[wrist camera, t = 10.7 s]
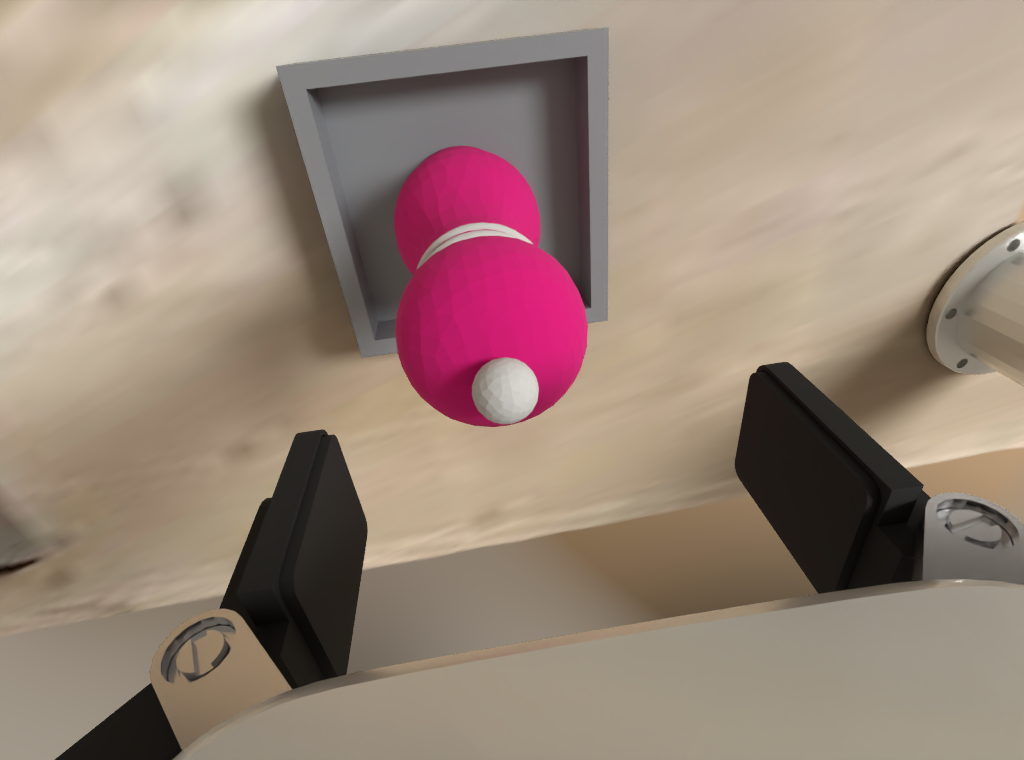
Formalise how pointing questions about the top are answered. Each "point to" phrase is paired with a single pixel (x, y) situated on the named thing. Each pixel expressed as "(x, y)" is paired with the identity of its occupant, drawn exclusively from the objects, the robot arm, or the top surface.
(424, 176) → the pepper mill
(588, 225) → the tray
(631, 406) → the top surface
